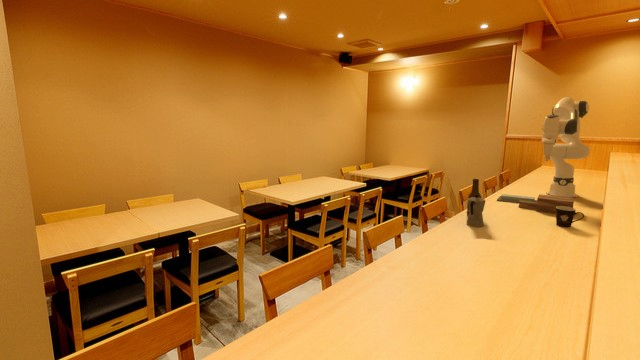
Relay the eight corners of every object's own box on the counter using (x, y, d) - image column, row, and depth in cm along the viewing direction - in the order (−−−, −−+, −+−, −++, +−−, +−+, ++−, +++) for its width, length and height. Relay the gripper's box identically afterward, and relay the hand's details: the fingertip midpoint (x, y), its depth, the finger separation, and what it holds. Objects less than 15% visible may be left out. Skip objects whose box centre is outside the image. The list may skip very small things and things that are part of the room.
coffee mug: (550, 224, 173) (552, 207, 171) (559, 222, 177) (561, 205, 175) (574, 231, 163) (576, 212, 161) (583, 228, 166) (585, 210, 164)
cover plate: (502, 197, 230) (502, 193, 230) (534, 200, 218) (534, 197, 217) (500, 198, 226) (500, 195, 225) (533, 202, 213) (533, 199, 213)
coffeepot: (470, 220, 185) (471, 191, 182) (487, 223, 179) (489, 193, 176) (461, 227, 174) (462, 196, 171) (478, 230, 168) (481, 198, 165)
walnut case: (520, 204, 213) (521, 192, 212) (572, 211, 196) (574, 197, 194) (517, 208, 204) (518, 196, 203) (572, 215, 187) (573, 202, 185)
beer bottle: (479, 219, 185) (481, 180, 181) (465, 217, 190) (467, 179, 185) (481, 216, 191) (484, 178, 187) (468, 214, 196) (470, 177, 191)
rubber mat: (500, 197, 234) (500, 195, 234) (541, 202, 218) (541, 200, 217) (496, 200, 225) (496, 199, 225) (540, 205, 209) (540, 204, 208)
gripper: (545, 138, 216) (543, 158, 219) (542, 141, 201) (540, 162, 204) (556, 138, 212) (554, 158, 215) (554, 141, 197) (552, 162, 200)
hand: (547, 160), depth 209 cm, fingers open, 8 cm apart
